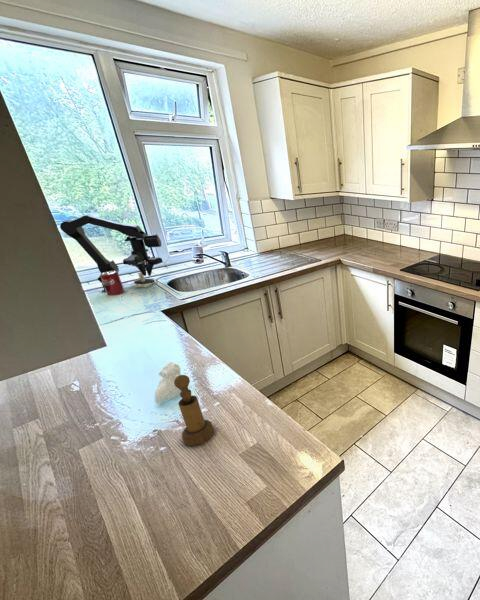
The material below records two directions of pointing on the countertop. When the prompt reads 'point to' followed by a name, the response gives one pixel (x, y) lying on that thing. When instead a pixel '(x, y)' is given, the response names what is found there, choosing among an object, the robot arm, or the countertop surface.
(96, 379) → the countertop surface
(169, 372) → the bust
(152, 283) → the peg stand
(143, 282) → the hoop
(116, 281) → the soda can
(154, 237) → the robot arm
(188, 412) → the mortar and pestle
